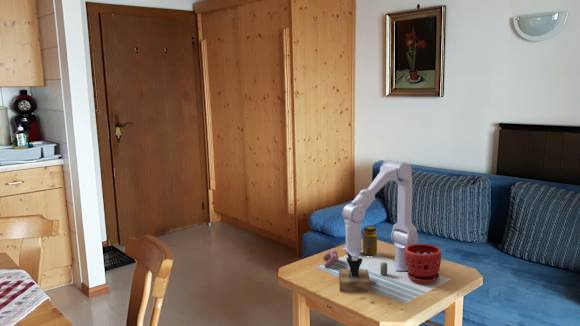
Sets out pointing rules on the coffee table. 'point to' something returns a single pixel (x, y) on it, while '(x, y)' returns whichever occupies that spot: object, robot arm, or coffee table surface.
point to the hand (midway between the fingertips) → (353, 272)
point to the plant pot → (423, 263)
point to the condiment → (369, 242)
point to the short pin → (383, 269)
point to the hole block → (354, 281)
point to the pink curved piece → (331, 258)
